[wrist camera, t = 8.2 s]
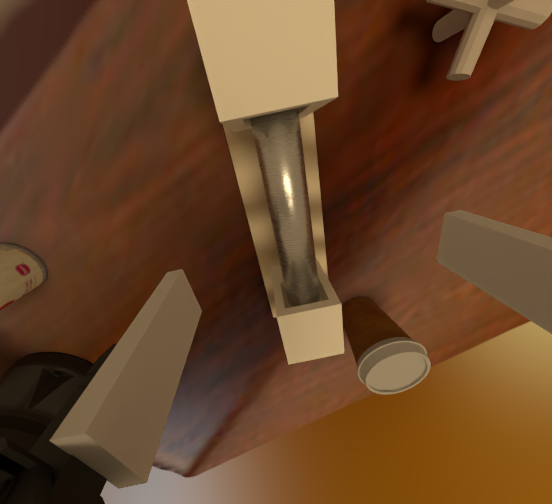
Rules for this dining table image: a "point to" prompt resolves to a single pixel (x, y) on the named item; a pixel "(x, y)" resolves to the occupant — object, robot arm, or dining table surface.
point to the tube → (288, 201)
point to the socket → (266, 56)
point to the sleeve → (309, 321)
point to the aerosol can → (19, 272)
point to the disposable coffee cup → (382, 349)
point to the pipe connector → (483, 25)
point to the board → (257, 203)
